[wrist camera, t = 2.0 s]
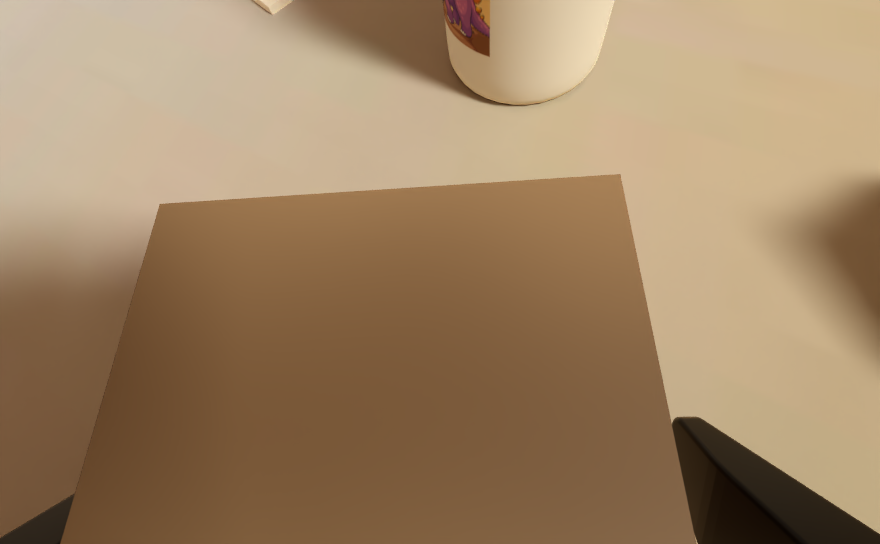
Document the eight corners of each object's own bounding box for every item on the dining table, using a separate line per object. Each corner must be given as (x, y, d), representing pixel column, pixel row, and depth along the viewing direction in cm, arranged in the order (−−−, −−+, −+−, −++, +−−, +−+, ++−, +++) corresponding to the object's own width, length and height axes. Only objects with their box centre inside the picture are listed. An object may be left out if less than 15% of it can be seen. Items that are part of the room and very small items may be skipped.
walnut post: (537, 539, 14) (771, 912, 2) (387, 538, 15) (-30, 847, 3) (524, 383, 16) (620, 173, 4) (392, 386, 17) (160, 204, 5)
